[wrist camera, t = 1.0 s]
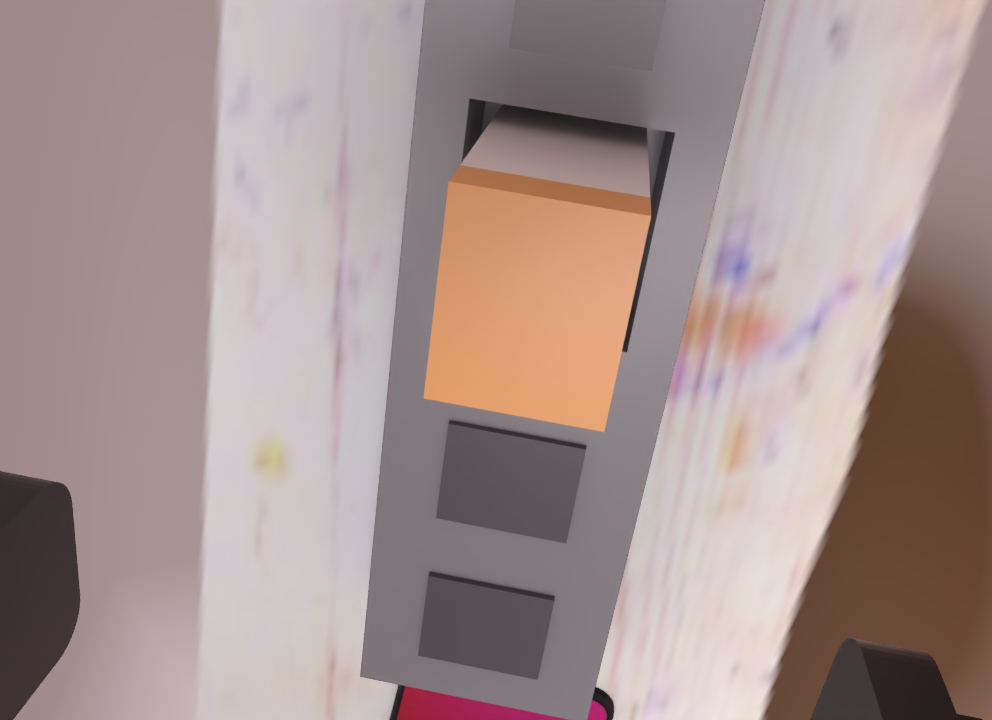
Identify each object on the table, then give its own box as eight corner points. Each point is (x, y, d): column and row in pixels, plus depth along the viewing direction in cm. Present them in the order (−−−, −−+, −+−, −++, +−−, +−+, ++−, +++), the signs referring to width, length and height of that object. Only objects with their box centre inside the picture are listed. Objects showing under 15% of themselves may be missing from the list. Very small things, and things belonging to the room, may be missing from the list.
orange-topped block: (613, 286, 25) (604, 431, 18) (482, 263, 26) (423, 398, 18) (647, 124, 23) (651, 216, 16) (505, 101, 24) (448, 181, 17)
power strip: (591, 632, 32) (584, 744, 28) (390, 591, 32) (353, 696, 28) (759, -76, 22) (788, -73, 18) (468, -120, 23) (429, -127, 18)
